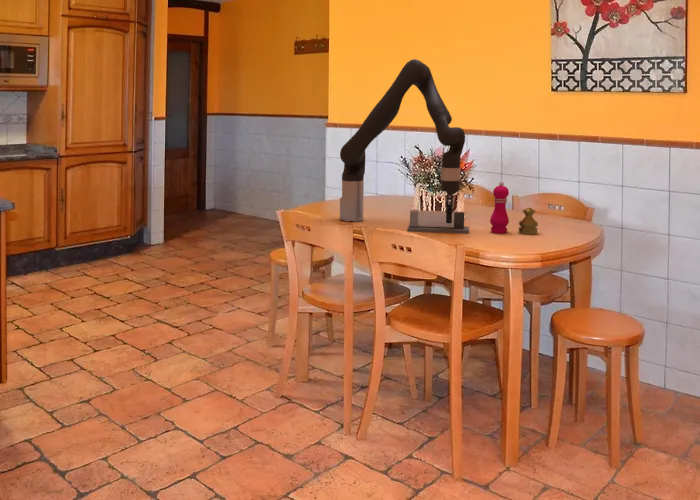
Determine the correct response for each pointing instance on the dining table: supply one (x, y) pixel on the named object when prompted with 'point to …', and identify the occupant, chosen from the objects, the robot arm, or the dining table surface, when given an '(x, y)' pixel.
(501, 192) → the pepper mill
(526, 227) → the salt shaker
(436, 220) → the block
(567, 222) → the dining table surface
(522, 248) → the dining table surface
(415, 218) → the block
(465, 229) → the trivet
